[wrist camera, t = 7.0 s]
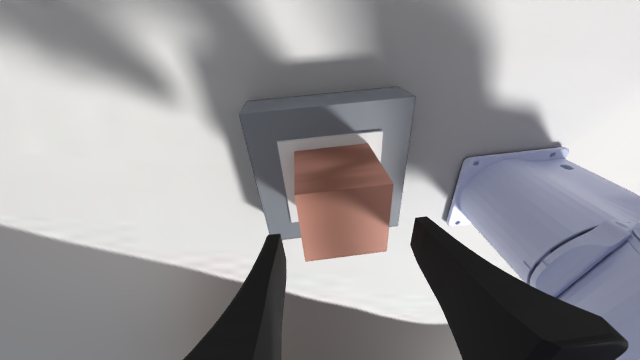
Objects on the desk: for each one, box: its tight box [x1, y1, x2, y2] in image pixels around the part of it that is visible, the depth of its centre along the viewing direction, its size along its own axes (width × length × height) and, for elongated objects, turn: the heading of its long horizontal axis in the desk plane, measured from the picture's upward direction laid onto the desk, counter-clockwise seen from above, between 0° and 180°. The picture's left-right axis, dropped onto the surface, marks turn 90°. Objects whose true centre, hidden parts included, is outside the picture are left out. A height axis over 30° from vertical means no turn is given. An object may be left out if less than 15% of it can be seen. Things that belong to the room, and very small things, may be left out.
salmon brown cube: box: [294, 143, 394, 262], centre depth 16 cm, size 5×5×5 cm
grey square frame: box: [239, 87, 416, 240], centre depth 19 cm, size 11×11×3 cm
